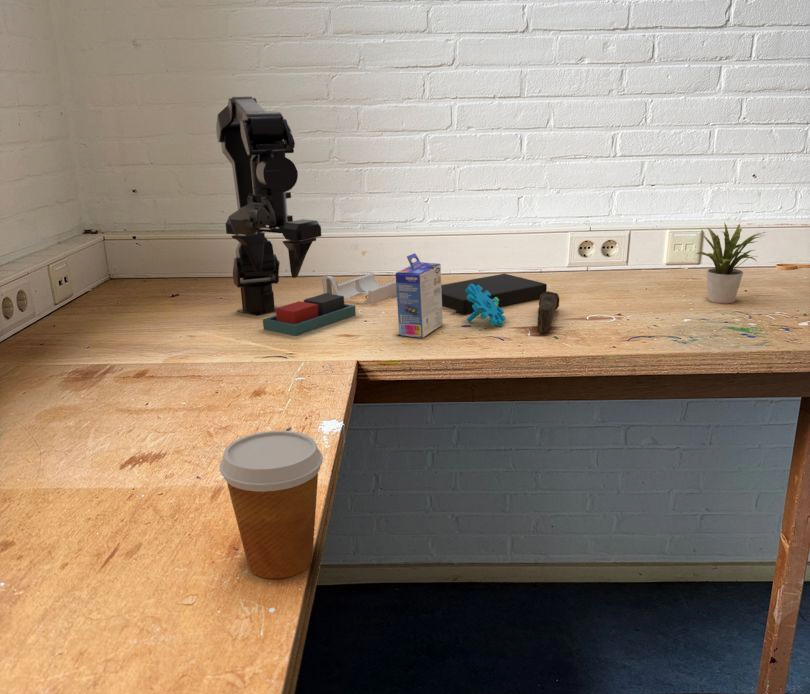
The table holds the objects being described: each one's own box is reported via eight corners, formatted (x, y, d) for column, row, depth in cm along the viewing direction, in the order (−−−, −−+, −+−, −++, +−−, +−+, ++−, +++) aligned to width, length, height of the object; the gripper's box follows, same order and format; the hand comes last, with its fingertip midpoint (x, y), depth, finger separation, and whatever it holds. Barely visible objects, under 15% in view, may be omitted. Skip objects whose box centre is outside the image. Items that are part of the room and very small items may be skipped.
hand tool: (539, 309, 165) (540, 287, 164) (559, 310, 164) (559, 288, 163) (527, 335, 148) (527, 311, 147) (549, 336, 147) (550, 311, 145)
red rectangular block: (277, 328, 155) (275, 308, 153) (300, 320, 159) (299, 301, 158) (295, 332, 152) (294, 311, 150) (318, 324, 157) (317, 304, 155)
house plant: (763, 312, 159) (774, 230, 153) (689, 308, 163) (697, 227, 157) (758, 295, 171) (768, 219, 166) (689, 292, 176) (697, 217, 170)
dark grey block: (305, 319, 160) (303, 299, 159) (326, 312, 165) (325, 293, 164) (323, 322, 158) (322, 302, 156) (344, 315, 162) (343, 296, 161)
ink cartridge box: (417, 322, 158) (416, 249, 153) (443, 325, 156) (442, 251, 151) (396, 335, 150) (393, 259, 145) (423, 338, 147) (421, 261, 142)
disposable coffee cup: (211, 578, 75) (197, 463, 71) (262, 529, 84) (252, 423, 80) (300, 597, 72) (291, 478, 68) (345, 544, 80) (339, 435, 76)
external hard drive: (422, 301, 174) (422, 288, 172) (503, 286, 186) (503, 273, 185) (463, 314, 162) (463, 300, 161) (546, 297, 175) (547, 283, 174)
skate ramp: (372, 305, 171) (371, 282, 170) (323, 298, 178) (322, 276, 176) (409, 291, 183) (408, 269, 182) (362, 285, 190) (361, 264, 188)
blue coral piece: (494, 324, 149) (462, 283, 151) (472, 343, 152) (441, 302, 154) (517, 318, 158) (487, 279, 160) (496, 336, 161) (467, 298, 163)
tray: (263, 331, 154) (262, 319, 153) (324, 311, 168) (323, 300, 167) (295, 338, 149) (294, 325, 149) (356, 317, 163) (355, 305, 162)
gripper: (198, 190, 139) (207, 278, 145) (274, 194, 129) (282, 289, 134) (244, 184, 148) (252, 267, 153) (320, 187, 137) (326, 276, 143)
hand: (276, 274), depth 145 cm, fingers open, 9 cm apart
